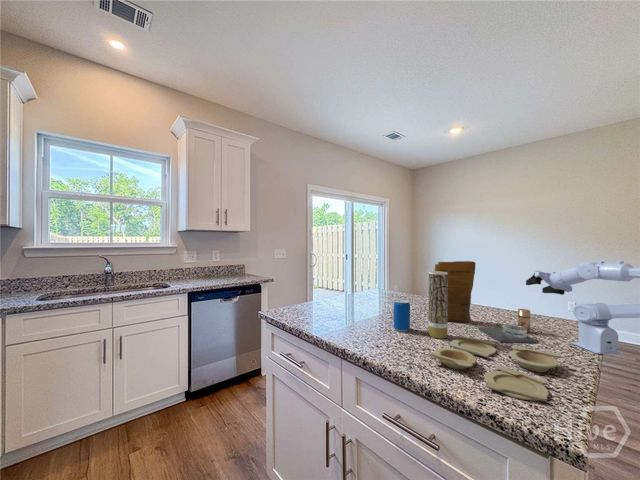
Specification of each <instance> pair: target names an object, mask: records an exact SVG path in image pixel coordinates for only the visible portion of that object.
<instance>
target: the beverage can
mask: <svg viewBox="0 0 640 480" xmlns="http://www.w3.org/2000/svg"><path fill="white" fill-rule="evenodd" d="M393 329H395V331H397V332H400V333H401V332H402V333H405V332H406V333H407V332H408V331H410V329H411V303H410V301H409V300H406V299H395V300H394V303H393Z"/></svg>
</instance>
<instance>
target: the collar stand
mask: <svg viewBox="0 0 640 480" xmlns="http://www.w3.org/2000/svg"><path fill="white" fill-rule="evenodd" d="M518 329H520V330H518ZM477 330H478V331H479V332H481V333H483V334H485V335H487V336H488V337H490V338H492V339H494V340H495V341H496V342H498V343H500V344H501V343H502V344H503V343H508V344H509V343H510V344H511V343H512V344H513V343H514V344H515V343H517V344H526V343H527V344H536V343H537V340H536V339H535V338H533V337H531V336H528V335H527V329H526V328H524V327H521V326H518V324H509V323H505V324H502V326H501V327H487V326H485V327H484V326H483V327H481V326H479V327H478V329H477Z"/></svg>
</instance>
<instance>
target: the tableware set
mask: <svg viewBox="0 0 640 480" xmlns="http://www.w3.org/2000/svg"><path fill="white" fill-rule="evenodd" d="M495 345H496V340H495V341H494V340H488V339H477V338H472V337H466V336H462V335H456V338H455V339H452V341H451V343H450V344H449V346H450V347H441V348H437V349H436V350H434V352H432V351H429V352H427V355H428V356H430V357H433V358H436V360H439V361H441V362H442V364H443V365H444V366H446V367H447V368H450V369H455V370H465V369H467V368H472V367H473V366H474V365H476V363H477V358H476V357H475V356H477V357H478V356H480V357H484V358H489V357H490V356H494V355H495V354H496V353H497V349H496V348H495V347H494V346H495ZM511 348H512V349H513V350H510V351H509V352H508V354H509V356H510V358H511V359H513V360H514V361H516V362H517V363H518V365H519V366H520V367H521V368H523V369H526V370H528V371H533V372H538V373H546V372H547V371H549V369H554V368H556V367H558V366H559V361H558V360H557V359H562V355H561V354H558V353H553V352H547V351H543V350H536V349H530V348H527V347H524V346H521V345H511ZM555 358H556V359H555ZM494 368H495V369H496V370H493V371H489V372H487V373H486V374H485V375H484V381H485V388H487V389H490V390H493V391H496V392H499V393H501V394H503V395H506V396H507V397H511V398H515V399H520V400H524V401H536V402H537V401H542V402H548V398H549V395H550V394H549V391H548V389H547V387H546V386H547V384H548V382H547V381H546V380H543V379H540V378H537V377H534V376H532V375H529V374H526V373H524V372H520V371H518V370H514V369H511V368H510V367H506V366H503V365H500V364H495V365H494Z"/></svg>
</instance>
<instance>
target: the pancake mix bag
mask: <svg viewBox="0 0 640 480" xmlns="http://www.w3.org/2000/svg"><path fill="white" fill-rule="evenodd" d="M476 266H477V265H476V261H473V260H472V261H471V260H470V261H469V260H467V261H465V260H464V261H462V260H457V261H437V263H435V265H434V269H433V271H440V272H447V273H448V317H447V323H450V322H451V323H452V322H453V323H469V322H471V321H472V318H471V312H470V309H471V303H472V291H473V287H474V279H475V273H476Z"/></svg>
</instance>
